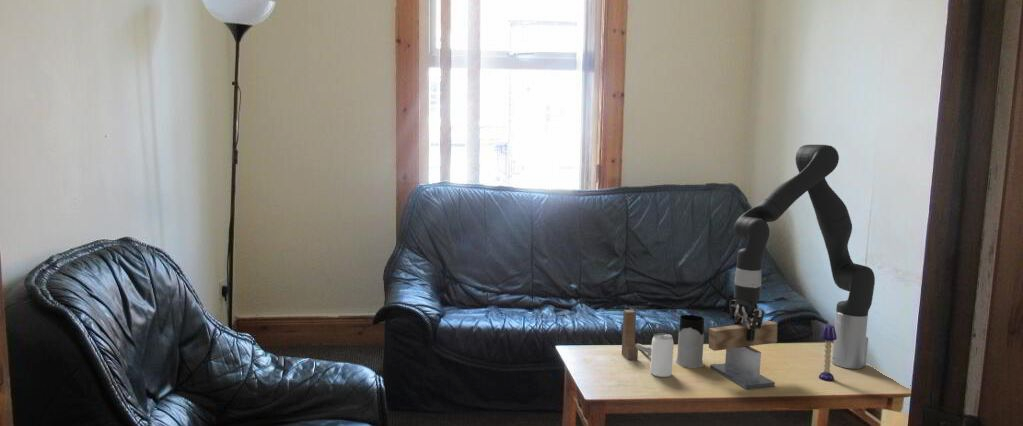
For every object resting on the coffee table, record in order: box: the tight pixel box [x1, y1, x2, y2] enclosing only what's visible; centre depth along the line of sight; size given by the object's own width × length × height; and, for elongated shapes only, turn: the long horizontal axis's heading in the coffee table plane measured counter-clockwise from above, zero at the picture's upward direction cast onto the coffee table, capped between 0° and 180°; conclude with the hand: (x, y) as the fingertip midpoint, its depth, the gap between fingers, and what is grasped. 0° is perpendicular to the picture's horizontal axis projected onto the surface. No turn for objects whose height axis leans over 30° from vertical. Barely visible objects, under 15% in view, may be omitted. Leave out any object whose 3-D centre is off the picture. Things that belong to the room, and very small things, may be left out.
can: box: [649, 332, 675, 378], centre depth 206 cm, size 6×6×12 cm
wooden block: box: [621, 309, 639, 361], centre depth 222 cm, size 7×3×15 cm, turn 10°
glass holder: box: [675, 314, 705, 369], centre depth 220 cm, size 9×14×15 cm, turn 157°
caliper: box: [635, 343, 652, 357], centre depth 224 cm, size 20×1×6 cm, turn 7°
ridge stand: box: [709, 346, 776, 390], centre depth 206 cm, size 10×18×10 cm, turn 17°
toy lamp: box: [818, 324, 837, 382], centre depth 206 cm, size 5×5×17 cm
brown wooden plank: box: [708, 320, 778, 352], centre depth 205 cm, size 22×3×6 cm, turn 107°
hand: (743, 337), depth 205 cm, fingers open, 5 cm apart
